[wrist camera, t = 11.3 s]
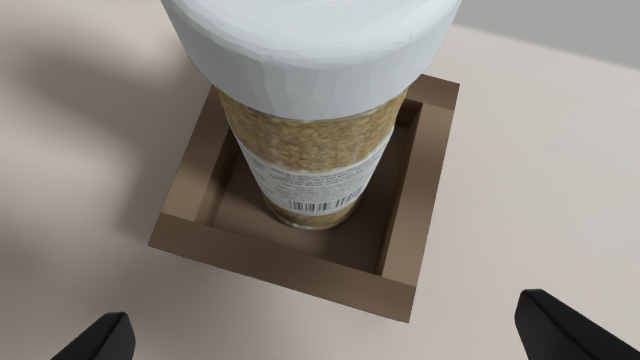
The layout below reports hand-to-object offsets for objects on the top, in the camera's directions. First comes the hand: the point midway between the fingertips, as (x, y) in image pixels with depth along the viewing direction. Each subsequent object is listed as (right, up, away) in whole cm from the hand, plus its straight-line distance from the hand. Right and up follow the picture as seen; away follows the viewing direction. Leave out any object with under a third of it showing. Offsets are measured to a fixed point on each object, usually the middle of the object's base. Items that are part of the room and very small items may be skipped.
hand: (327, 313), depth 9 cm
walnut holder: (0, +3, +9) cm, 10 cm away
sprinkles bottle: (0, +3, +9) cm, 9 cm away
